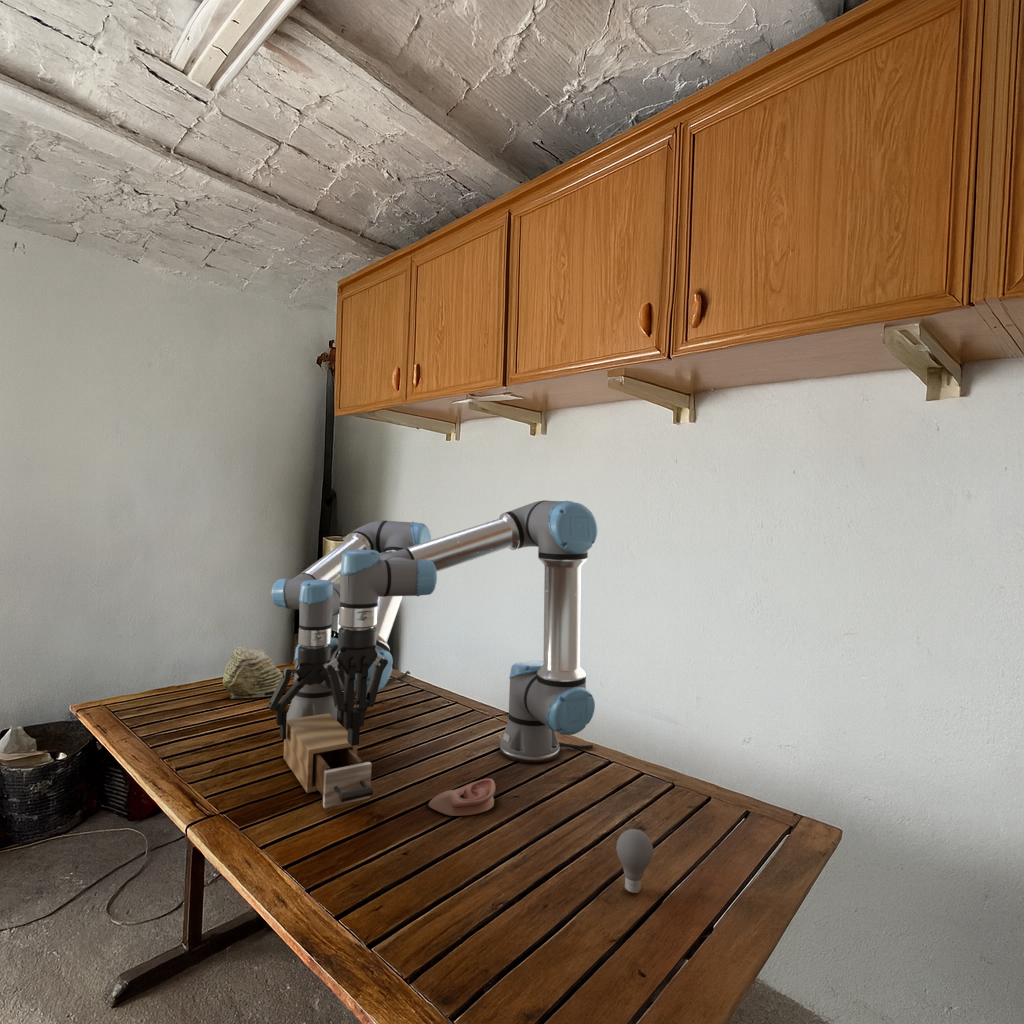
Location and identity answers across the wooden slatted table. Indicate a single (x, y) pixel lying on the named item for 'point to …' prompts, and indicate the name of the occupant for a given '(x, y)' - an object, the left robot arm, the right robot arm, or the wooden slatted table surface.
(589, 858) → the wooden slatted table surface
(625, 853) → the light bulb
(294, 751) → the cabinet
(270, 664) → the fossil
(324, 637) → the left robot arm
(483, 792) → the anatomical model
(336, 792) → the drawer
